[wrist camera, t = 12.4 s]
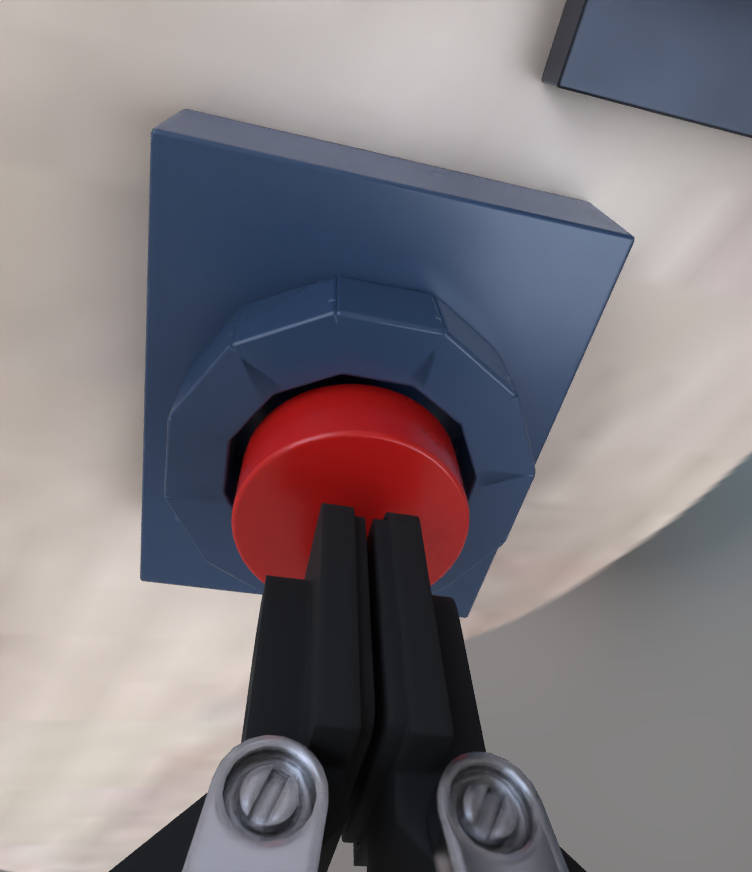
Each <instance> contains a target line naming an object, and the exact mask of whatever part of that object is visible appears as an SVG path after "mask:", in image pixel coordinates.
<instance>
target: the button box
mask: <svg viewBox="0 0 752 872" xmlns="http://www.w3.org/2000/svg"><path fill="white" fill-rule="evenodd" d="M633 243H634V237H633V236H632V235H631V234H630V233H628V232H627V231H626V230H624V229H623V228H622V227H621V226H619V225H618V224H617V223H615V222H614V221H613V220H611V219H610V218H609V217H608V216H606V215H605V214H604V213H602V212H601V211H600V210H598V209H597V208H596V207H595V206H593V205H592V204H591V203H589V202H586V201H582V200H578V199H573V198H569V197H565V196H560V195H556V194H552V193H547V192H543V191H539V190H534V189H530V188H526V187H521V186H517V185H513V184H508V183H504V182H500V181H495V180H491V179H487V178H482V177H478V176H474V175H469V174H465V173H461V172H457V171H452V170H448V169H444V168H439V167H435V166H431V165H426V164H422V163H418V162H413V161H409V160H405V159H400V158H396V157H392V156H387V155H383V154H379V153H374V152H370V151H366V150H361V149H357V148H353V147H348V146H344V145H340V144H336V143H331V142H327V141H323V140H318V139H314V138H310V137H305V136H301V135H297V134H292V133H288V132H284V131H279V130H275V129H271V128H266V127H262V126H258V125H253V124H249V123H245V122H240V121H236V120H232V119H227V118H223V117H219V116H214V115H210V114H206V113H202V112H197V111H193V110H189V109H184V110H182V111H180V112H179V113H177V114H176V115H174V116H173V117H171V118H169V119H168V120H166V121H165V122H163V123H161V124H160V125H158V126H157V127H155V128H153V129H152V131H151V151H150V193H149V234H148V275H147V316H146V358H145V399H144V440H143V482H142V523H141V564H140V579H141V580H142V581H147V582H156V583H165V584H174V585H183V586H191V587H200V588H209V589H218V590H226V591H235V592H244V593H253V594H261V595H263V590H264V583H263V582H261V581H260V580H259V579H258V578H257V577H256V576H255V575H254V574H253V573H252V572H251V571H250V570H249V568H248V567H247V566H246V564H245V563H244V561H243V560H242V558H241V556H240V554H239V552H238V550H237V548H236V545H235V541H234V538H233V534H232V527H231V517H232V509H233V504H234V500H235V495H236V490H237V486H238V481H239V476H240V472H241V467H242V463H243V458H244V453H245V449H246V447H247V444H248V442H249V439H250V438H251V436H252V434H253V433H254V431H255V429H256V428H257V427H258V425H259V424H260V423H261V422H262V420H263V419H264V418H265V417H266V416H267V415H268V414H270V413H271V412H272V411H273V410H274V409H275V408H277V407H278V406H280V405H281V404H283V403H284V402H285V401H287V400H289V399H291V398H293V397H295V396H297V395H299V394H301V393H304V392H306V391H309V390H312V389H315V388H319V387H323V386H328V385H336V384H366V385H374V386H378V387H382V388H387V389H390V390H392V391H395V392H398V393H401V394H403V395H405V396H407V397H409V398H411V399H412V400H414V401H416V402H417V403H419V404H420V405H422V406H423V407H424V408H426V409H427V410H428V411H429V412H430V413H431V414H432V415H434V416H435V417H436V418H437V420H438V421H439V422H440V423H441V425H442V426H443V427H444V429H445V430H446V432H447V434H448V435H449V437H450V439H451V442H452V445H453V447H454V450H455V454H456V458H457V462H458V466H459V469H460V473H461V477H462V481H463V485H464V489H465V492H466V496H467V501H468V505H469V515H470V523H469V530H468V535H467V538H466V541H465V544H464V547H463V549H462V551H461V553H460V555H459V557H458V558H457V560H456V561H455V563H454V564H453V565H452V567H451V568H450V569H449V570H448V571H447V572H446V573H445V574H444V576H442V577H441V578H440V579H439V580H438V581H437V582H435V583H434V584H433V585H431V586H430V587H431V593H432V595H437V596H445V597H452V598H453V599H454V601H455V603H456V606H457V609H458V614H459V617H463V618H466V617H468V615H469V612H470V610H471V608H472V606H473V603H474V601H475V599H476V597H477V594H478V592H479V590H480V588H481V585H482V583H483V581H484V578H485V576H486V574H487V572H488V569H489V567H490V565H491V563H492V560H493V558H494V556H495V554H496V551H497V549H498V548H499V547H500V546H502V545H503V543H504V542H505V541H506V539H507V537H508V534H509V532H510V530H511V528H512V526H513V523H514V521H515V519H516V517H517V514H518V512H519V510H520V508H521V505H522V503H523V501H524V499H525V497H526V494H527V492H528V490H529V488H530V485H531V483H532V481H533V479H534V477H535V464H536V461H537V459H538V457H539V455H540V452H541V450H542V448H543V446H544V443H545V441H546V439H547V437H548V434H549V432H550V430H551V428H552V425H553V423H554V421H555V419H556V416H557V414H558V412H559V410H560V407H561V405H562V403H563V400H564V398H565V396H566V394H567V391H568V389H569V387H570V385H571V382H572V380H573V378H574V376H575V373H576V371H577V369H578V367H579V364H580V362H581V360H582V358H583V355H584V353H585V351H586V349H587V346H588V344H589V342H590V340H591V337H592V335H593V333H594V331H595V328H596V326H597V324H598V322H599V319H600V317H601V315H602V313H603V310H604V308H605V306H606V304H607V301H608V299H609V297H610V295H611V292H612V290H613V288H614V286H615V283H616V281H617V279H618V277H619V274H620V272H621V270H622V268H623V265H624V263H625V261H626V259H627V256H628V254H629V252H630V250H631V247H632V245H633Z"/></svg>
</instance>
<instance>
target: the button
mask: <svg viewBox="0 0 752 872" xmlns="http://www.w3.org/2000/svg"><path fill="white" fill-rule="evenodd" d="M322 503H328V504H335V505H342V506H349V507H354V511H355V516H359V517H365V521H366V540H367V537H368V533H369V530H370V526H371V523H372V520H373V519H381V520H383V518H384V515H385V514H386V512H392V513H399V514H406V515H413V516H418V517H419V519H420V524H421V530H422V536H423V543H424V549H425V555H426V561H427V568H428V574H429V580H430V586H431V585H433V584H434V583H435V582H437V581H438V580H439V579H440V578H441V577H442V576H444V574H445V573H446V572H447V571H448V570H449V569H450V568H451V567H452V565H453V564H454V563H455V561H456V560H457V558H458V557H459V555H460V553H461V551H462V549H463V547H464V544H465V541H466V538H467V535H468V530H469V523H470V515H469V505H468V501H467V496H466V492H465V489H464V485H463V481H462V477H461V473H460V469H459V466H458V462H457V458H456V454H455V450H454V447H453V445H452V442H451V439H450V437H449V435H448V434H447V432H446V430H445V429H444V427H443V426H442V425H441V423H440V422H439V421H438V420H437V418H436V417H435V416H434V415H432V414H431V413H430V412H429V411H428V410H427V409H426V408H424V407H423V406H422V405H420V404H419V403H417V402H416V401H414V400H412V399H411V398H409V397H407V396H405V395H403V394H401V393H398V392H395V391H392V390H390V389H387V388H382V387H378V386H374V385H366V384H336V385H328V386H323V387H319V388H315V389H312V390H309V391H306V392H304V393H301V394H299V395H297V396H295V397H293V398H291V399H289V400H287V401H285V402H284V403H283V404H281V405H280V406H278V407H277V408H275V409H274V410H273V411H272V412H271V413H270V414H268V415H267V416H266V417H265V418H264V419H263V420H262V422H261V423H260V424H259V425H258V427H257V428H256V429H255V431H254V433H253V434H252V436H251V438H250V439H249V442H248V444H247V447H246V449H245V453H244V458H243V463H242V467H241V472H240V476H239V481H238V486H237V490H236V495H235V500H234V504H233V509H232V517H231V527H232V534H233V538H234V541H235V545H236V548H237V550H238V552H239V554H240V556H241V558H242V560H243V561H244V563H245V564H246V566H247V567H248V568H249V570H250V571H251V572H252V573H253V574H254V575H255V576H256V577H257V578H258V579H259V580H260V581H261V582H263V583H264V584H265V579H266V575H270V576H278V577H287V578H295V579H303V580H304V578H305V574H306V570H307V565H308V561H309V556H310V552H311V547H312V543H313V538H314V534H315V529H316V525H317V520H318V516H319V511H320V507H321V504H322Z"/></svg>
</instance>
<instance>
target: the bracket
mask: <svg viewBox="0 0 752 872" xmlns="http://www.w3.org/2000/svg"><path fill="white" fill-rule="evenodd" d="M542 82H544V83H546V84H549V85H552V86H555V87H558V88H561V89H565V90H569V91H573V92H577V93H581V94H584V95H588V96H592V97H596V98H600V99H604V100H607V101H611V102H615V103H619V104H623V105H627V106H631V107H634V108H638V109H642V110H646V111H650V112H654V113H657V114H661V115H665V116H669V117H673V118H677V119H680V120H684V121H688V122H692V123H696V124H700V125H703V126H707V127H711V128H715V129H719V130H723V131H727V132H730V133H734V134H738V135H742V136H746V137H750V138H752V0H567V1H566V4H565V7H564V10H563V13H562V16H561V19H560V23H559V26H558V29H557V32H556V35H555V38H554V41H553V45H552V48H551V51H550V54H549V57H548V60H547V63H546V66H545V70H544V73H543V76H542Z"/></svg>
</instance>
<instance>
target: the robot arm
mask: <svg viewBox="0 0 752 872" xmlns="http://www.w3.org/2000/svg"><path fill="white" fill-rule="evenodd" d="M341 835H342V841H343V842H348V843H354V844H353V846H354V866H367V872H586V871H585V870H584V869H583V868H582V867H581V866H580V865H579V864H578V863H577V862H576V861H574V860H573V859H572V858H571V857H570V856H569V855H568V854H567V853H566V852H565V851H564V850H563V849H562V848H561V847H560V846H559V844H558V842H557V839H556V836H555V834H554V831H553V829H552V826H551V824H550V821H549V819H548V816H547V813H546V811H545V808H544V806H543V803H542V801H541V799H540V797H539V795H538V794H537V791H536V789H535V787H534V786H533V784H532V783H531V781H530V780H529V779H528V778H527V777H526V776H525V775H524V774H523V772H522V771H521V770H520V769H519V768H517V767H516V766H515V765H513V764H512V763H510V762H509V761H508V760H506V759H504V758H501V757H499V756H497V755H494V754H492V753H487V752H486V750H485V745H484V740H483V735H482V730H481V725H480V720H479V715H478V710H477V705H476V700H475V695H474V690H473V685H472V680H471V675H470V670H469V665H468V659H467V654H466V649H465V644H464V639H463V634H462V629H461V624H460V619H459V614H458V609H457V606H456V603H455V601H454V599H453V598H452V597H445V596H437V595H432V593H431V587H430V580H429V574H428V568H427V561H426V555H425V549H424V543H423V536H422V530H421V524H420V519H419V517H418V516H413V515H406V514H399V513H392V512H386V514H385V515H384V518H383V520H381V519H373V520H372V523H371V526H370V530H369V533H368V537H367V540H366V521H365V517H359V516H355V511H354V507H349V506H342V505H335V504H328V503H322V504H321V507H320V511H319V516H318V520H317V525H316V529H315V534H314V538H313V543H312V547H311V552H310V556H309V561H308V565H307V570H306V574H305V578H304V580H303V579H295V578H287V577H278V576H270V575H266V579H265V584H264V590H263V595H262V601H261V607H260V613H259V619H258V625H257V632H256V638H255V645H254V652H253V660H252V667H251V674H250V682H249V689H248V696H247V704H246V711H245V718H244V726H243V733H242V740H241V744H239V745H237V746H236V747H234V748H233V749H232V750H231V751H230V752H229V753H228V754H227V755H226V756H225V757H224V758H223V759H222V760H221V762H220V764H219V766H218V768H217V770H216V772H215V774H214V776H213V778H212V781H211V784H210V787H209V790H208V793H206V794H205V795H204V796H203V797H201V798H200V799H199V800H198V801H196V802H195V803H194V804H193V805H191V806H190V807H189V808H188V809H186V810H185V811H184V812H183V813H181V814H180V815H179V816H178V817H176V818H175V819H174V820H173V821H171V822H170V823H169V824H168V825H166V826H165V827H164V828H163V829H161V830H160V831H159V832H158V833H156V834H155V835H154V836H153V837H151V838H150V839H149V840H148V841H146V842H145V843H144V844H143V845H141V846H140V847H139V848H138V849H136V850H135V851H134V852H133V853H131V854H130V855H129V856H128V857H126V858H125V859H124V860H123V861H121V862H120V863H119V864H118V865H116V866H115V867H114V868H113V869H111V870H110V871H109V872H327V870H328V867H329V865H330V862H331V860H332V857H333V854H334V852H335V849H336V847H337V844H338V841H339V839H340V836H341Z"/></svg>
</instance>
